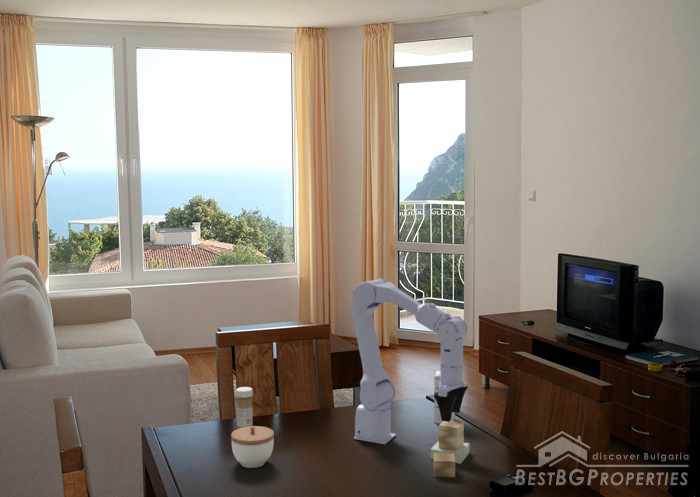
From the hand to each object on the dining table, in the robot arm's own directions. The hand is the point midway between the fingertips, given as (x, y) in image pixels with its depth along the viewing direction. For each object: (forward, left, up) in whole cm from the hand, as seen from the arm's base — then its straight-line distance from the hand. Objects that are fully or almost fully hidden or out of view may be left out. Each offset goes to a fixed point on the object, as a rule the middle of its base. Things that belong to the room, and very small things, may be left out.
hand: (450, 416), depth 178 cm
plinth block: (0, 0, -11) cm, 11 cm away
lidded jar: (-43, -27, -11) cm, 52 cm away
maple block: (0, 0, -8) cm, 8 cm away
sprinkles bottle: (-56, -12, -11) cm, 58 cm away
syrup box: (-10, +25, -11) cm, 29 cm away
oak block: (+2, -11, -11) cm, 15 cm away
